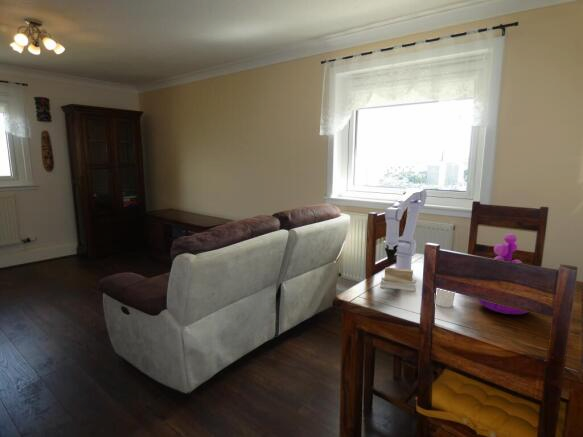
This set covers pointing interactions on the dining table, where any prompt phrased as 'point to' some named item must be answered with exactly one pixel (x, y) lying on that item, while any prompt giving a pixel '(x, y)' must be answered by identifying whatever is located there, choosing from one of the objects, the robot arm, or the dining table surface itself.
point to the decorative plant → (502, 251)
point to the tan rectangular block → (398, 275)
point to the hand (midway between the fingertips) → (390, 260)
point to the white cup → (444, 298)
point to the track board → (398, 285)
